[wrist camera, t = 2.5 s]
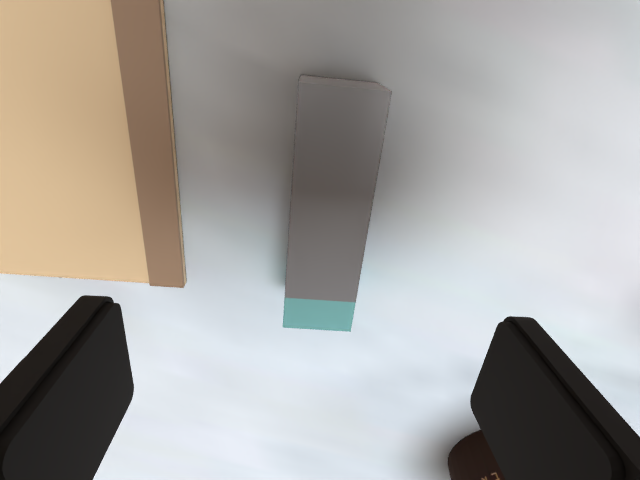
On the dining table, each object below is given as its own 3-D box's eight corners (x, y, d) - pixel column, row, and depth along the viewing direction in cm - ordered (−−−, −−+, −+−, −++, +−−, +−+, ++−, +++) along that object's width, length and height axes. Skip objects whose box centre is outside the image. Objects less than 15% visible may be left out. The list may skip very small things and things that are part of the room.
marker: (300, 74, 15) (298, 82, 12) (377, 82, 15) (391, 91, 12) (286, 287, 19) (282, 327, 16) (345, 291, 19) (350, 331, 17)
